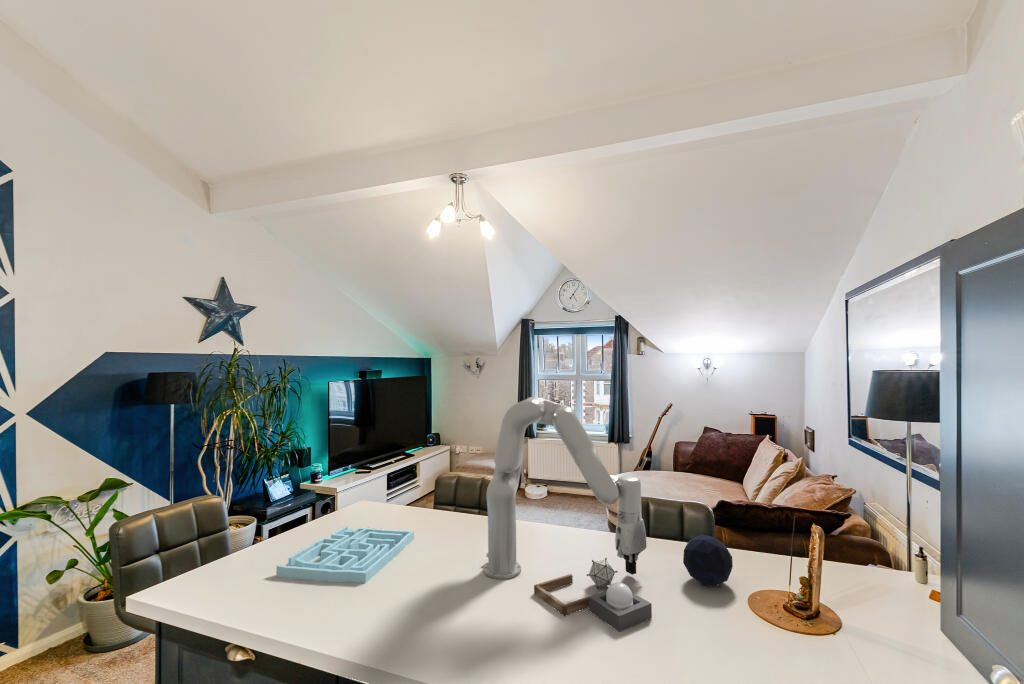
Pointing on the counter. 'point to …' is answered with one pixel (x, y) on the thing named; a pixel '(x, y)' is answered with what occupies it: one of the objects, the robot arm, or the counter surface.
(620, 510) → the robot arm
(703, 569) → the decorative orb
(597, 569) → the game die
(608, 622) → the dome base
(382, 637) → the counter surface
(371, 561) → the maze
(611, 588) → the dome
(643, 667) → the counter surface
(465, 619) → the counter surface
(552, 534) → the counter surface
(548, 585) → the walnut bay
